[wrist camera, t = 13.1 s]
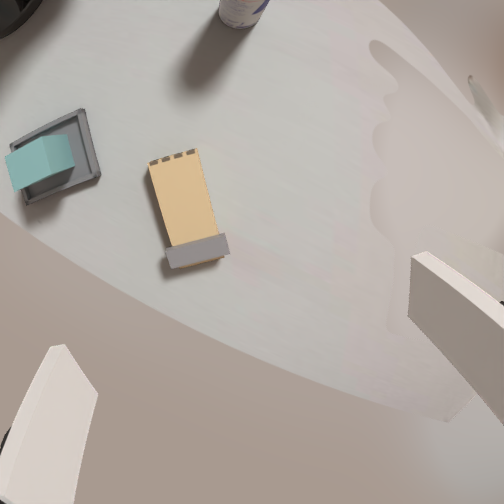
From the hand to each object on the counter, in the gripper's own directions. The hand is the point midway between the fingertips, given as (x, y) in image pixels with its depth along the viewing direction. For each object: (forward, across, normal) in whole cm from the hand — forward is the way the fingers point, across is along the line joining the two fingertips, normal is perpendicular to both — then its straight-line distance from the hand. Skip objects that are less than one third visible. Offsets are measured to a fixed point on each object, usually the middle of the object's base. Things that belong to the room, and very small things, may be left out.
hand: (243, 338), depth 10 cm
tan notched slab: (+31, -4, -2) cm, 31 cm away
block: (+30, -20, +10) cm, 38 cm away
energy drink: (+31, +8, +22) cm, 39 cm away
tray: (+31, -20, +10) cm, 38 cm away
